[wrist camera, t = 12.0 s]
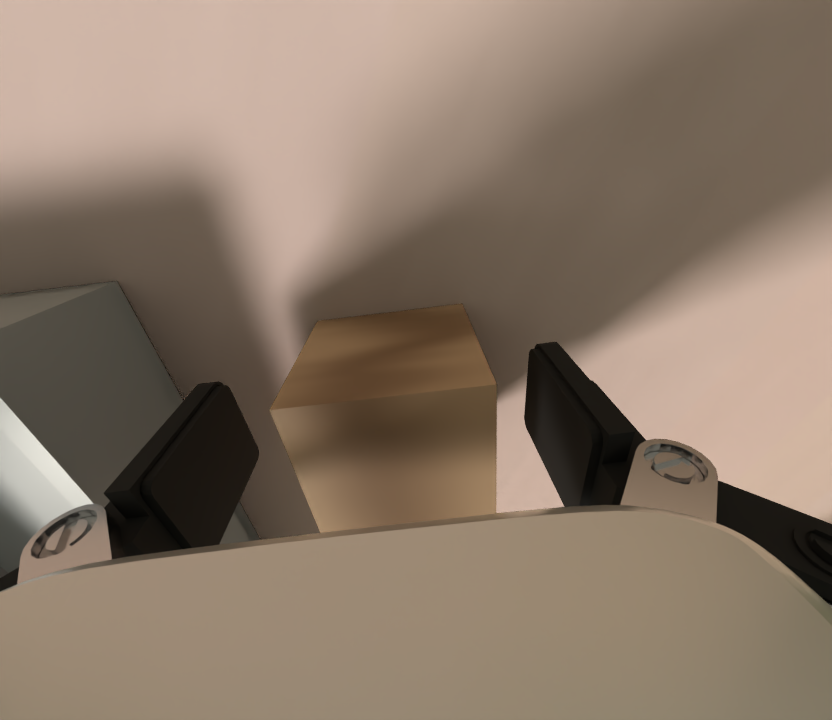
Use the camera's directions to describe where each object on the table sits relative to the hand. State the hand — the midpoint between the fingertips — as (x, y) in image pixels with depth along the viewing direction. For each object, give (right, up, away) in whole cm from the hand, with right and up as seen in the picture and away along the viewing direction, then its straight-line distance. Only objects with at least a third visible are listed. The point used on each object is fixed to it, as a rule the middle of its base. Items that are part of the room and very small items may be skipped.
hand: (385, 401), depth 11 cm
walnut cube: (0, +1, +2) cm, 2 cm away
